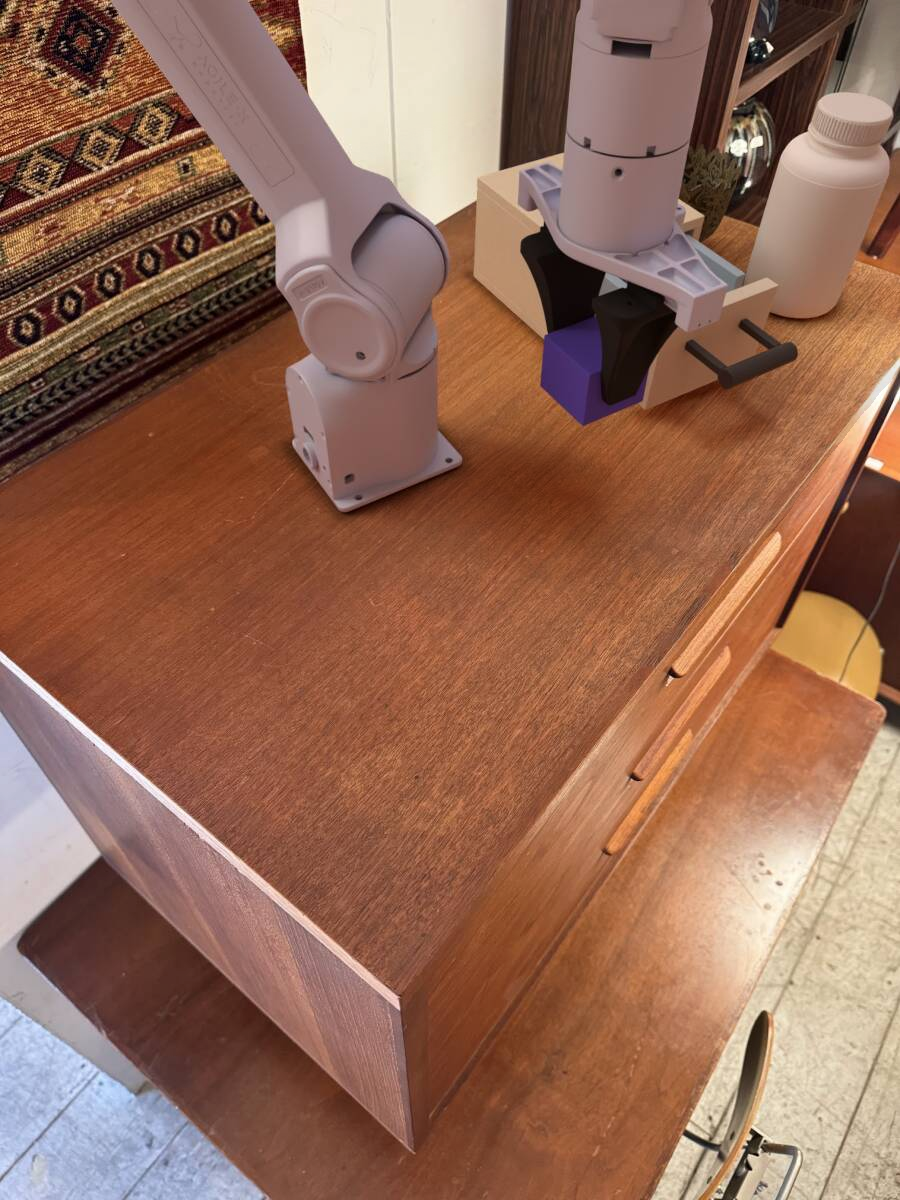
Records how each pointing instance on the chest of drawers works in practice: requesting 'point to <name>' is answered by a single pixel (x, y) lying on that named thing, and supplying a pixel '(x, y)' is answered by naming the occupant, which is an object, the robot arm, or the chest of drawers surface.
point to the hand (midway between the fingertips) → (593, 374)
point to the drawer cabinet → (502, 237)
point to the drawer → (716, 338)
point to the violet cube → (579, 372)
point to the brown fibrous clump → (709, 186)
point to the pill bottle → (822, 204)
